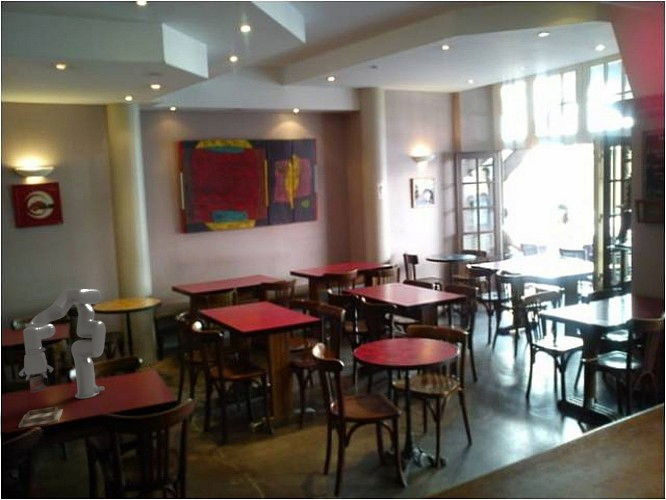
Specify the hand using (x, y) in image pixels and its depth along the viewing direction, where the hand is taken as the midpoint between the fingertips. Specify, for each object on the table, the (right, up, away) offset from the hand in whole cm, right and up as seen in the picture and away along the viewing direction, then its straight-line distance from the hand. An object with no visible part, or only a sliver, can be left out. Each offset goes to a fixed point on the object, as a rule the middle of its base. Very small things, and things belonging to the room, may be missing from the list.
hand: (37, 385), depth 306 cm
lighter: (0, -2, 0) cm, 2 cm away
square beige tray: (+1, -17, +1) cm, 17 cm away
